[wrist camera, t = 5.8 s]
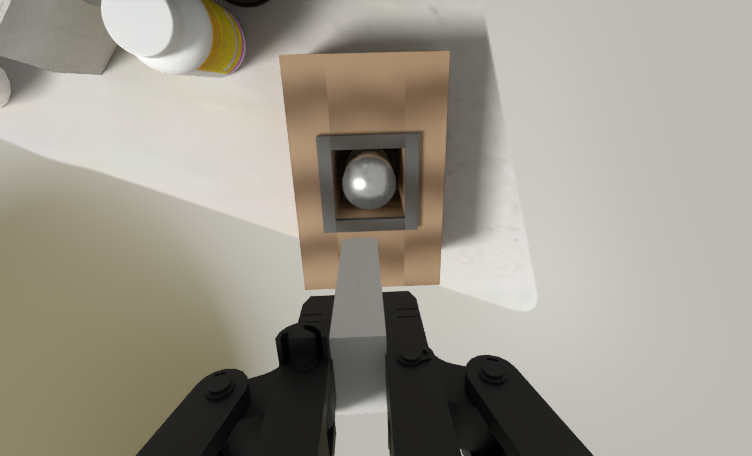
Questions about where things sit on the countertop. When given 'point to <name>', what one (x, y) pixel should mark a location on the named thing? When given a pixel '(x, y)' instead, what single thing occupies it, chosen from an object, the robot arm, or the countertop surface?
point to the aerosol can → (247, 2)
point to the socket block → (368, 131)
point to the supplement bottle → (177, 35)
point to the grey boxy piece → (56, 35)
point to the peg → (368, 178)
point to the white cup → (4, 88)
